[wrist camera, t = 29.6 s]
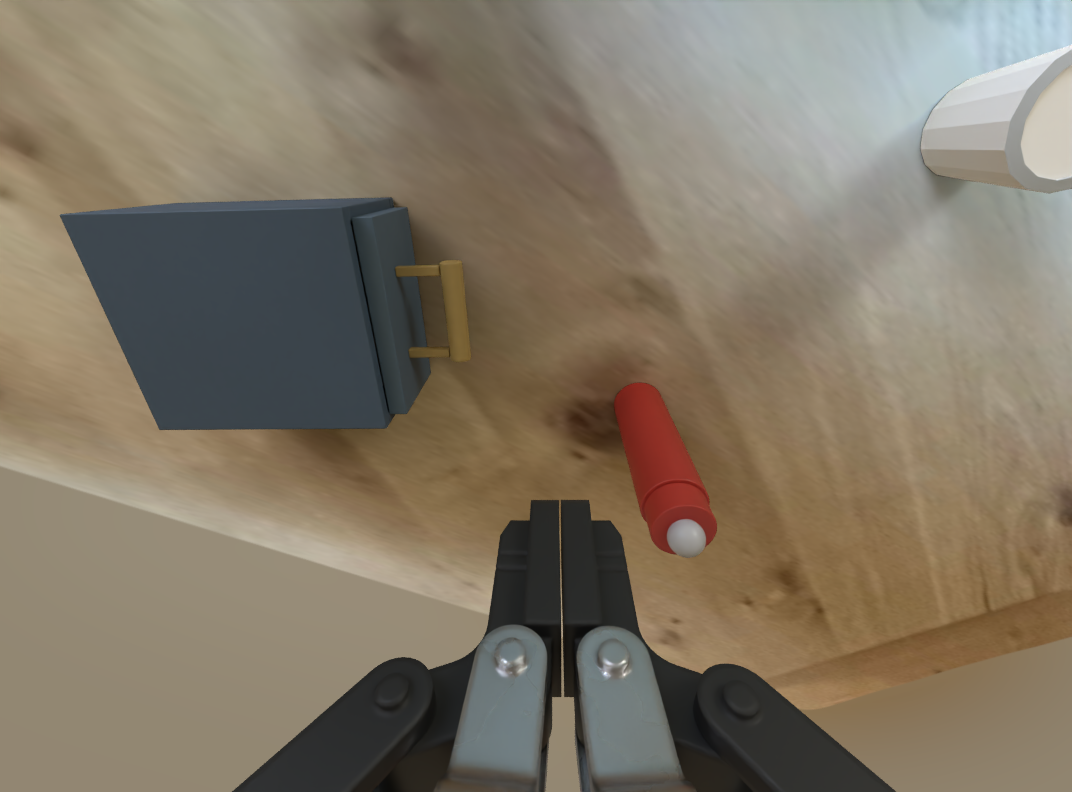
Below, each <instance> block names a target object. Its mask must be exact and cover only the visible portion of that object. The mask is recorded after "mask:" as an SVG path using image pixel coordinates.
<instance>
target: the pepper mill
mask: <svg viewBox="0 0 1072 792" xmlns="http://www.w3.org/2000/svg"><path fill="white" fill-rule="evenodd" d="M614 410H615V414H616V418H617V421H618V425H619V429H620V433H621V437H622V441H623V445H624V449H625V453H626V457H627V460H628V464H629V468H630V472H631V476H632V480H633V484H634V488H635V492H636V496H637V499H638V503H639V507H640V511H641V514H642V517H643V519H644V520H645V521H646V522H647V524H648V528H649V532H650V535H651V539H652V541H653V542H654V544H655V545H656V546H657V547H658V548H659V549H661V550H663V551H665V552H667V553H671V554H677V555H679V556H682V557H686V558H690V557H695V556H697V555H699V554H700V553H701V552H702V551H703V549H704V547H706V546H707V545H708V544H709V543H710V542H711V541H712V540H713V538H714V536H715V534H716V531H717V523H716V519H715V517H714V515H713V513H712V511H711V509H710V506H709V496H708V494H707V492H706V489H705V487H704V485H703V483H702V481H701V479H700V477H699V475H698V473H697V470H696V468H695V466H694V464H693V462H692V460H691V458H690V456H689V454H688V452H687V449H686V447H685V445H684V443H683V441H682V439H681V437H680V435H679V433H678V431H677V428H676V426H675V424H674V422H673V420H672V418H671V416H670V414H669V412H668V409H667V407H666V405H665V403H664V401H663V399H662V397H661V395H660V393H659V391H658V390H657V389H656V388H655V387H653V386H652V385H649V384H646V383H633V384H630V385H628V386H626V387H624V388H623V389H622V390H621V391H620V392H619V393H618V394H617V396H616V398H615V401H614Z"/></svg>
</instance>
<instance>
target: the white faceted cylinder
mask: <svg viewBox="0 0 1072 792" xmlns="http://www.w3.org/2000/svg"><path fill="white" fill-rule="evenodd" d="M920 150H921V153H922V156H923V160H924V163H925V165H926V166H927V167H928V168H929V169H930V170H931V171H933V172H934V173H935V174H936V175H940V176H945V177H951V178H956V179H963V180H969V181H975V182H981V183H987V184H994V185H1000V186H1006V187H1012V188H1018V189H1025V190H1031V191H1037V192H1043V193H1053V192H1058V191H1063V190H1067V189H1072V45H1070V46H1067V47H1064V48H1061V49H1058V50H1055V51H1052V52H1049V53H1046V54H1043V55H1040V56H1037V57H1034V58H1031V59H1028V60H1025V61H1022V62H1018V63H1015V64H1012V65H1009V66H1006V67H1003V68H1000V69H997V70H994V71H991V72H988V73H985V74H982V75H979V76H976V77H973V78H970V79H967V80H966V81H964V82H963V83H961V84H960V85H958V86H957V87H955V88H954V89H952V90H951V91H949V92H948V93H947V94H946V95H945V96H944V97H943V98H942V100H941V101H940V102H939V103H938V104H937V105H936V106H935V108H934V109H933V110H932V112H931V114H930V116H929V118H928V120H927V122H926V124H925V126H924V129H923V132H922V140H921V148H920Z"/></svg>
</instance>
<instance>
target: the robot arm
mask: <svg viewBox="0 0 1072 792" xmlns="http://www.w3.org/2000/svg"><path fill="white" fill-rule="evenodd" d="M561 571H562V614H563V654H564V655H563V657H564V697H574V706H575V745H576V755H577V765H578V774H579V783H580V792H896V791H895V790H894V789H892V788H891V787H890V786H889V785H888V784H886V783H885V782H884V781H883V780H882V779H880V778H879V777H878V776H877V775H876V774H875V773H873V772H872V771H871V770H870V769H869V768H867V767H866V766H865V765H864V764H863V763H861V762H860V761H859V760H858V759H857V758H856V757H854V756H853V755H852V754H851V753H850V752H848V751H847V750H846V749H845V748H843V747H842V746H841V745H840V744H839V743H838V742H837V741H835V740H834V739H833V738H832V737H831V736H829V735H828V734H827V733H826V732H825V731H824V730H822V729H821V728H820V727H819V726H817V725H816V724H815V723H814V722H813V721H812V720H810V719H809V718H808V717H807V716H806V715H805V714H803V713H802V712H801V711H800V710H799V709H797V708H796V707H795V706H794V705H793V704H791V703H790V702H789V701H788V700H787V699H786V698H784V697H783V696H782V695H781V694H780V693H778V692H777V691H776V690H775V689H774V688H772V687H771V686H770V685H769V684H768V683H767V682H765V681H764V680H763V679H762V678H760V677H759V676H758V675H756V674H755V673H753V672H752V671H750V670H748V669H746V668H744V667H741V666H738V665H734V664H718V665H714V666H712V667H710V668H708V669H707V670H706V671H705V672H704V673H703V674H701V673H698V672H695V671H692V670H689V669H686V668H683V667H680V666H677V665H674V664H672V663H670V662H668V661H666V660H664V659H662V658H661V657H660V656H658V655H657V654H656V653H655V652H654V651H652V650H651V649H650V647H649V646H648V645H647V644H646V642H645V641H644V639H643V638H642V635H641V633H640V631H639V627H638V622H637V617H636V612H635V606H634V601H633V596H632V590H631V585H630V580H629V574H628V571H627V564H626V558H625V554H624V548H623V542H622V537H621V535H620V533H619V532H618V530H617V529H616V528H615V526H614V525H613V524H612V522H611V521H591V513H590V504H589V500H561ZM552 697H561V591H560V540H559V500H531V509H530V521H513V520H511V521H510V522H509V524H508V525H507V527H506V528H505V529H504V531H503V532H502V534H501V535H500V542H499V549H498V556H497V564H496V571H495V578H494V585H493V592H492V599H491V606H490V613H489V620H488V626H487V631H486V633H485V635H484V637H483V639H482V641H481V642H480V643H479V645H478V646H477V647H476V648H475V649H474V650H473V651H472V652H471V653H469V654H468V655H467V656H465V657H463V658H462V659H460V660H457V661H454V662H452V663H449V664H446V665H443V666H439V667H436V668H433V669H430V670H428V669H427V667H426V666H425V665H424V664H423V663H421V662H420V661H418V660H416V659H412V658H405V657H401V658H395V659H391V660H388V661H386V662H384V663H382V664H380V665H378V666H377V667H376V668H374V669H373V670H372V671H371V672H369V673H368V674H367V675H366V676H365V677H364V678H362V679H361V680H360V681H359V682H358V683H357V684H356V685H354V686H353V687H352V688H351V689H350V690H349V691H348V692H346V693H345V694H344V695H343V696H342V697H341V698H340V699H338V700H337V701H336V702H335V703H334V704H333V705H332V706H330V707H329V708H328V709H327V710H326V711H325V712H323V713H322V714H321V715H320V716H319V717H318V718H317V719H315V720H314V721H313V722H312V723H311V724H310V725H308V726H307V727H306V728H305V729H304V730H303V731H301V732H300V733H299V734H298V735H297V736H296V737H295V738H293V740H291V741H290V742H289V743H288V744H287V745H286V746H284V747H283V748H282V749H281V750H280V751H278V752H277V753H276V754H275V755H274V756H273V757H272V758H270V759H269V760H268V761H267V762H266V763H265V764H264V765H262V766H261V767H260V768H259V769H258V770H257V771H255V772H254V773H253V774H252V775H251V776H250V777H249V778H247V779H246V780H245V781H244V782H243V783H242V784H241V785H239V786H238V787H237V788H236V789H235V790H234V791H232V792H545V788H546V776H547V762H548V748H549V737H550V734H551V730H552Z"/></svg>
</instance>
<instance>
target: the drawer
mask: <svg viewBox="0 0 1072 792" xmlns="http://www.w3.org/2000/svg"><path fill="white" fill-rule="evenodd" d="M351 219H352V221H350V222H351V227H352V232H353V237H354V243H355V248H356V253H357V258H358V263H359V268H360V273H361V278H362V283H363V288H364V293H365V298H366V303H367V308H368V313H369V319H370V324H371V329H372V334H373V339H374V344H375V349H376V354H377V359H378V364H379V369H380V374H381V379H382V384H383V385H384V388H385V393H386V398H387V403H388V408H389V413H390V414H407V413H408V411H409V409H410V408H411V406H412V404H413V403H414V401H415V399H416V397H417V396H418V394H419V392H420V391H421V389H422V387H423V386H424V384H425V382H426V381H427V379H428V377H429V375H430V374H431V370H430V363H429V358H431V357H451V360H452V361H454V362H465V361H468V360H470V359H471V351H470V340H469V330H468V320H467V310H466V299H465V289H464V279H463V268H462V261H459V260H448V261H442V262H440V263H439V265H415V258H414V251H413V244H412V237H411V230H410V223H409V216H408V209H407V207H400V208H388V209H384V210H380V211H376V212H372V213H368V214H364V215H360V216H356V217H352V218H351ZM440 275H441V282H442V290H443V299H444V307H445V315H446V324H447V332H448V341H449V347H427V342H426V335H425V328H424V321H423V314H422V307H421V300H420V293H419V286H418V279H417V276H440Z"/></svg>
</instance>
